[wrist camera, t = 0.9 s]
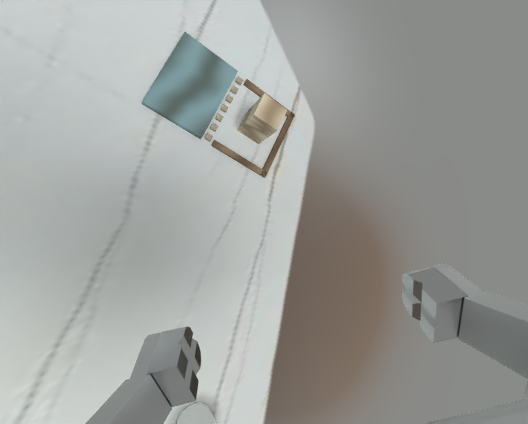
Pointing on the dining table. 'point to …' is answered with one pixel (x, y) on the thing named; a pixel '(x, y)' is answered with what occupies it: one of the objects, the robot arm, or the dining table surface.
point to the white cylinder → (196, 415)
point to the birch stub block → (262, 119)
